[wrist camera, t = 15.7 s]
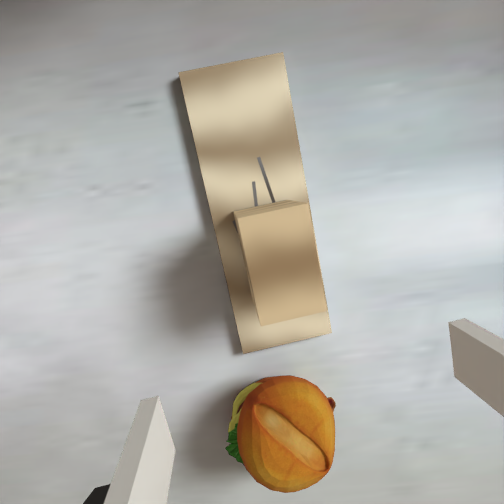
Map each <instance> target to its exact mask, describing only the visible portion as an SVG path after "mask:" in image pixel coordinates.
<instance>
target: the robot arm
mask: <svg viewBox="0 0 504 504" xmlns="http://www.w3.org/2000/svg"><path fill="white" fill-rule="evenodd" d="M449 331H450V340H451V349H452V358H453V367H454V376H455V378H457V379H458V380H459V381H460V382H462V383H463V384H464V385H465V386H466V387H468V388H469V389H470V390H471V391H473V392H474V393H475V394H476V395H477V396H479V397H480V398H481V399H482V400H484V401H485V402H486V403H487V404H488V405H490V406H491V407H492V408H493V409H495V410H496V411H497V412H498V413H500V414H501V415H502V416H503V417H504V339H502V338H500V337H498V336H497V335H495V334H493V333H491V332H489V331H487V330H486V329H484V328H482V327H480V326H478V325H476V324H474V323H473V322H471V321H469V320H467V319H465V318H464V319H460V320H456V321H452V322H449ZM174 456H175V447H174V444H173V440H172V437H171V434H170V431H169V428H168V424H167V421H166V418H165V415H164V412H163V408H162V405H161V402H160V399H159V396H156V397H152V398H148V399H144V400H141V402H140V404H139V407H138V410H137V413H136V415H135V418H134V421H133V424H132V427H131V429H130V432H129V435H128V438H127V440H126V443H125V446H124V449H123V451H122V454H121V457H120V460H119V462H118V465H117V468H116V471H115V474H114V476H113V479H112V482H111V484H109V485H105V486H101V487H97V488H95V489H94V490H93V491H92V493H91V494H90V495H89V497H88V498H87V499H86V500H85V502H84V503H83V504H167V498H168V492H169V486H170V480H171V474H172V468H173V462H174Z"/></svg>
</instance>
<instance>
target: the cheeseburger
mask: <svg viewBox="0 0 504 504" xmlns="http://www.w3.org/2000/svg"><path fill="white" fill-rule="evenodd" d="M334 408H335V401H334V400H333V398H332V397H329V398H327V397H326V396H325V395H324V393H323V392H322V391H321V390H320V389H319V388H318V387H317V386H316V385H314V384H313V383H311V382H309V381H307V380H305V379H303V378H298V377H294V376H277V377H267V378H263V379H261V380H259V381H257V382H255V383H252V384H251V385H249V386H248V387H246V388H244V389H243V390H242V391H241V392H240V393H239V394H238V396H237V397H236V399H235V401H234V403H233V411H232V417H231V421H230V423H229V428H228V433H229V436H228V441H226V442H229V443H231V444H230V445H229V446H227V447H226V448H225V449H226V450H227V451H228V453H229V455H231V456H233V457H235V458H236V460H237V461H238V462H241V463H243V465H244V466H245V467H246V469H247V471H248V472H249V473H250V474H251V476H252V477H253V478H254V479H255V480H256V482H258V483H260V484H261V485H263V486H265V487H267V488H268V489H270V490H273V491H279V492H284V493H288V492H296V491H299V490H302V489H306V488H308V487H310V486H312V485H313V484H315V483H317V482H318V481H319V480H321V479H322V478H323V477H324V476H325V475H326V474H327V473H328V471H329V470H330V468H331V465H332V462H333V457H334V451H335V422H334V415H333V411H334Z"/></svg>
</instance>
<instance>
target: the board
mask: <svg viewBox="0 0 504 504" xmlns="http://www.w3.org/2000/svg"><path fill="white" fill-rule="evenodd" d="M179 77H180V81H181V86H182V90H183V94H184V99H185V103H186V107H187V112H188V116H189V120H190V125H191V129H192V133H193V138H194V142H195V146H196V151H197V155H198V159H199V164H200V168H201V173H202V177H203V181H204V186H205V190H206V194H207V199H208V203H209V207H210V212H211V216H212V220H213V225H214V229H215V233H216V238H217V242H218V246H219V251H220V255H221V259H222V264H223V268H224V273H225V277H226V281H227V286H228V290H229V294H230V299H231V303H232V307H233V312H234V316H235V320H236V325H237V329H238V333H239V338H240V342H241V346H242V351H243V354H245V353H249V352H253V351H257V350H261V349H266V348H270V347H274V346H278V345H283V344H287V343H291V342H295V341H299V340H304V339H308V338H312V337H316V336H321V335H325V334H329V333H332V331H331V325H330V320H329V314H328V308H327V311H325V312H321V313H317V314H312V315H308V316H304V317H299V318H295V319H291V320H287V321H282V322H278V323H274V324H270V325H265V326H260V322H259V319H258V315H257V312H256V309H255V305H254V302H253V299H252V295H251V291H250V286H249V282H248V277H247V273H246V268H245V263H244V259H243V254H242V250H241V245H240V240H239V236H238V231H237V227H236V222H235V218H234V213H233V211H236V210H241V209H246V208H250V207H255V206H260V205H264V204H269V203H273V202H278V201H283V200H292V201H298V202H305V203H309V199H308V193H307V187H306V181H305V176H304V170H303V164H302V158H301V153H300V147H299V141H298V135H297V130H296V124H295V118H294V112H293V107H292V101H291V95H290V89H289V84H288V78H287V72H286V66H285V61H284V55H283V52H282V53H277V54H272V55H266V56H261V57H256V58H251V59H246V60H240V61H235V62H230V63H225V64H220V65H215V66H209V67H204V68H199V69H194V70H189V71H184V72H179ZM309 209H310V205H309ZM310 215H311V210H310ZM311 221H312V216H311ZM312 226H313V222H312ZM313 232H314V228H313ZM314 238H315V233H314ZM315 243H316V239H315ZM316 249H317V245H316ZM317 255H318V251H317ZM318 261H319V256H318ZM319 266H320V262H319ZM320 272H321V268H320ZM321 278H322V274H321ZM322 283H323V279H322ZM323 289H324V285H323ZM324 295H325V291H324ZM325 301H326V297H325ZM326 306H327V302H326Z"/></svg>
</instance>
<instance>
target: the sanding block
mask: <svg viewBox="0 0 504 504" xmlns="http://www.w3.org/2000/svg"><path fill="white" fill-rule="evenodd" d="M233 213H234V218H235V222H236V227H237V231H238V236H239V240H240V245H241V250H242V254H243V259H244V263H245V268H246V273H247V277H248V282H249V286H250V291H251V295H252V299H253V302H254V305H255V309H256V312H257V315H258V319H259V322H260V326H265V325H270V324H274V323H278V322H282V321H287V320H291V319H295V318H299V317H304V316H308V315H312V314H317V313H321V312H325V311H327V306H326V301H325V295H324V289H323V283H322V278H321V272H320V266H319V261H318V255H317V249H316V243H315V238H314V232H313V226H312V221H311V215H310V209H309V203H305V202H298V201H292V200H283V201H278V202H273V203H269V204H264V205H260V206H255V207H250V208H246V209H241V210H236V211H233Z"/></svg>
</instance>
